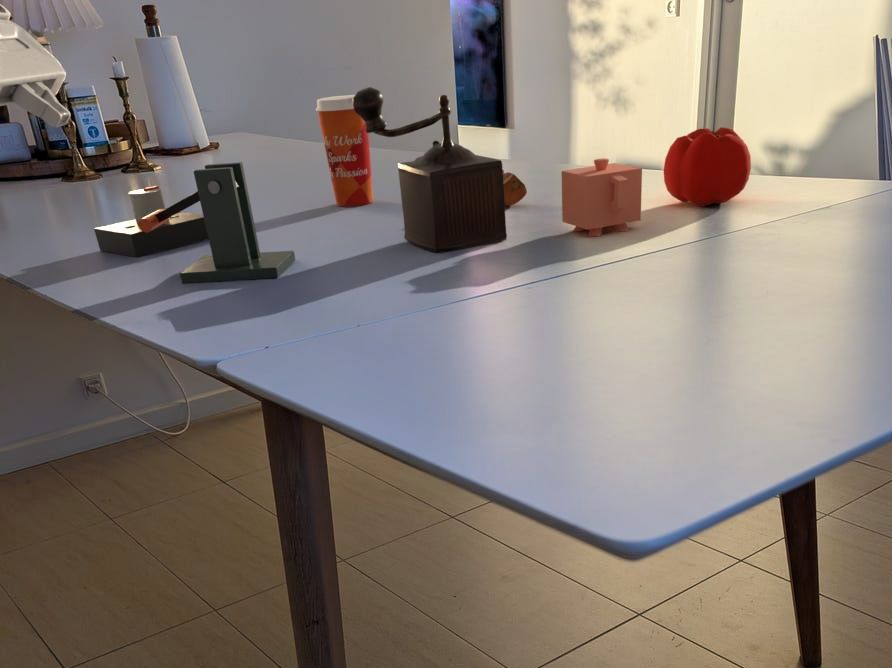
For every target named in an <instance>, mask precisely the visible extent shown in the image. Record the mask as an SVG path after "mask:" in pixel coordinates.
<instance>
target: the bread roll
mask: <svg viewBox="0 0 892 668" xmlns="http://www.w3.org/2000/svg"><path fill="white" fill-rule="evenodd" d="M503 186H504V202H505V207H511V206H514V205H516V204H517V203H519V202H520V201H521V200H523V199H524V198H525V197H526V196H527V194H528V191H527V187H526V184H525V183H523V181H521V179H520V178H518V176H517V175H516V174H514V173H513V172H508V171H507V172H505V170H504V169H503Z"/></svg>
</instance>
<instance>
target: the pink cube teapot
mask: <svg viewBox="0 0 892 668" xmlns="http://www.w3.org/2000/svg"><path fill="white" fill-rule="evenodd" d="M609 161H610V159H609V158H606V157H605V158H595V159H594V160H593V164H594V165H592V166H585V167H578V168H573V169H565V170H561V213H562V215H561V218H562V221H561V222H562V223H565V224H568V225H571V226H574V228H573V231H574V232H583V231H586V230H589V232H588V236H591V237H596V236H597V237H598V236H601V235H602V234H603V233H602V232H603V230H602V228H605V227H612V226H614V228H615V231H617V232H626V231H629V230H630V228H629V227H628V225H627V224H629V223H635V222H639V221H641V220H642V191H643V190H642V187H643V186H642V185H643V168H642V167H637V166H633V165H627V164H622V163H616V162H613V163H612V162H611V163H609Z"/></svg>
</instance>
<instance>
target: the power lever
mask: <svg viewBox="0 0 892 668" xmlns="http://www.w3.org/2000/svg"><path fill="white" fill-rule="evenodd" d="M226 168H227V167H226ZM235 182H236V187H237V188H238V187H239V185H238V183H237V181H236V179H235ZM199 202H200V198H199V194H198V190H197V191H195V192H193V193H192V194H190V195H187V196H185V198H182V199H181V200H178V201H177V202H176V203H174V204H172V205H170V206H168V207H165V209H159V210H158V211H156V212H154V213H152V214H150V215H148V216H146V217H144V218H142V219H141V220H140V221H139V227H140V229H141V230H142V231H144V232H150V231H152V230H153V229H155V228H157V227H159V226H160V225H162V224H164V223H166V222H167V221H168V220H169V218H170V217H171V216H173V215H175V214H177V213H179V212H183V211H184V210H186V209H188V208H190V207H191V206H193V205H195V204H197V203H199Z"/></svg>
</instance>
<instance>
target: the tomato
mask: <svg viewBox="0 0 892 668" xmlns="http://www.w3.org/2000/svg"><path fill="white" fill-rule="evenodd" d="M751 159H752V158H751V153H750V151H749V147H748V144H746V143H745V141H744V139H743V138H742V137H740V135H739V134H737V132H736V131H735V129H732V128H729V127H719V128H718V129H717V130H716V129H714V130H711V129H710V128H708V127H707V128H705V127H703V128H698V129H695V130H693V131H691V132H689V133H687V135H682V136H679V137H677V138H676V139H675V140H674V141H673V142H672V144H671V145H670V146H669V148H668V151H667V154H666V156H665V158H664V163H663V164H664V165H663V181H664V185H665V188H666V191H667V192H668V193H669V194H670V196H671V197H673V198H675V199H677V200H678V201H680V202H682V203H690V204H692V205H694V206H697V207H705V206H708V205H711V204H713V203H714V204H723V203H726V202H728V201H730V200H732V199H733V198H735V197H736V196H738V195H739V194H741V192H742V191H743V190H744V189H745V187H746V185H747V184H748V181H749V179H750V173H751V169H752V163H751Z"/></svg>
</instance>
